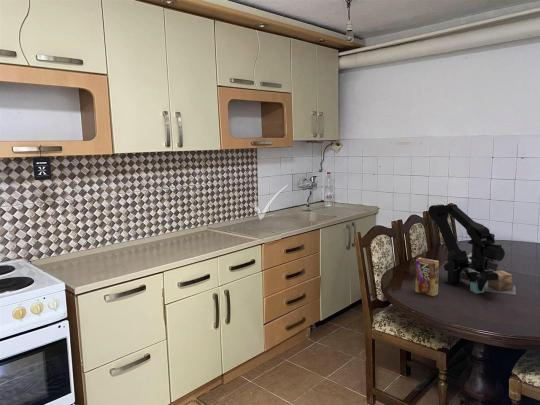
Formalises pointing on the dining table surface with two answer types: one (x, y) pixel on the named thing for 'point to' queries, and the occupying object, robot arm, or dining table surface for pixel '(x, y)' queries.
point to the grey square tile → (510, 292)
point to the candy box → (427, 276)
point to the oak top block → (503, 277)
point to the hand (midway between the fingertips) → (477, 289)
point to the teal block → (475, 287)
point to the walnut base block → (500, 286)
